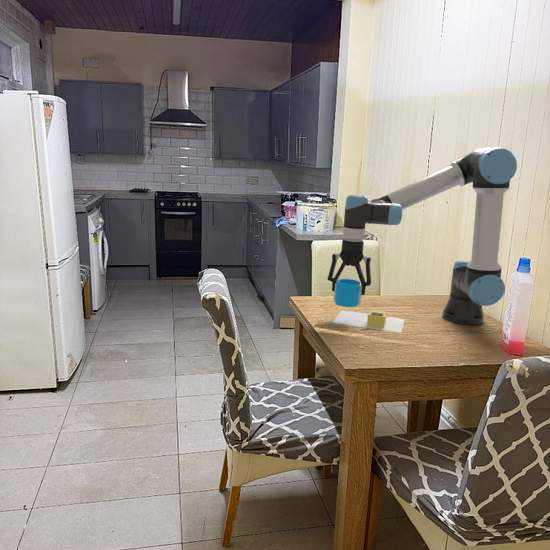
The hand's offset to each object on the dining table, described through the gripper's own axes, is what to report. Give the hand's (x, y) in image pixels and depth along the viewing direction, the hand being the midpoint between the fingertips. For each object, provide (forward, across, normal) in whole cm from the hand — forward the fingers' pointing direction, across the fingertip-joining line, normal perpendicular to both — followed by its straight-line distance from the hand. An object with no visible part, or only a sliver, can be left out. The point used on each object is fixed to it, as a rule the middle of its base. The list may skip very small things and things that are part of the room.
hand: (347, 301), depth 183 cm
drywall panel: (+8, -8, -4) cm, 12 cm away
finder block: (+7, -11, -1) cm, 13 cm away
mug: (0, 0, 0) cm, 1 cm away
